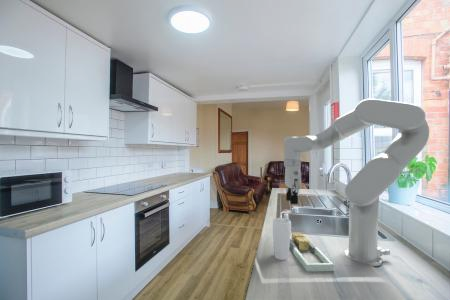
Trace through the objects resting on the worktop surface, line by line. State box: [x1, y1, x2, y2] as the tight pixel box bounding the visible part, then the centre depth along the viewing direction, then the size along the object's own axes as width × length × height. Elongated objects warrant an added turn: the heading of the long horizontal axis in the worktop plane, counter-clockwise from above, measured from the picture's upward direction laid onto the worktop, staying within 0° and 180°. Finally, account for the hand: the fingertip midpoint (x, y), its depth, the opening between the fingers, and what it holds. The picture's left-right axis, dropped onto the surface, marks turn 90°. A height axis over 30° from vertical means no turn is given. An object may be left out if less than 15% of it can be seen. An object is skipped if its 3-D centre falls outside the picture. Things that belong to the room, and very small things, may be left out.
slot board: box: [289, 235, 316, 254], centre depth 95 cm, size 8×12×3 cm
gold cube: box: [291, 232, 305, 245], centre depth 98 cm, size 4×4×4 cm
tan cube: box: [296, 236, 310, 251], centre depth 93 cm, size 4×4×4 cm
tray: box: [293, 246, 335, 272], centre depth 83 cm, size 9×13×3 cm
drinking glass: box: [272, 217, 292, 261], centre depth 86 cm, size 7×7×15 cm
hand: (291, 201), depth 106 cm, fingers open, 5 cm apart
